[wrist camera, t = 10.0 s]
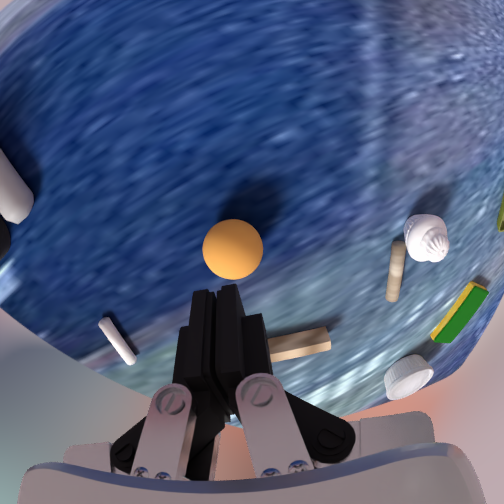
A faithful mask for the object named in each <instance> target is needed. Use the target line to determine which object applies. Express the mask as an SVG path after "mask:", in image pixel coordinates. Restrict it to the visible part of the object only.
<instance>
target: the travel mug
mask: <svg viewBox="0 0 504 504" xmlns="http://www.w3.org/2000/svg"><path fill="white" fill-rule="evenodd" d="M9 248H10V234H9V231H8V228H7V226H6V224H5V222H4V221H3V219H2V218H1V217H0V260H1V259H2V258H3V257H4V255H5V254H6V253H7V252H8V250H9Z"/></svg>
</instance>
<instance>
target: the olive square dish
mask: <svg viewBox="0 0 504 504" xmlns="http://www.w3.org/2000/svg"><path fill="white" fill-rule="evenodd" d="M497 227H498V231H499V232H504V194H503V198H502V203H501V207H500V211H499V215H498V219H497Z"/></svg>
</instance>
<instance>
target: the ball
mask: <svg viewBox="0 0 504 504" xmlns="http://www.w3.org/2000/svg"><path fill="white" fill-rule="evenodd" d="M262 254H263V244H262V240H261V237H260V235H259V234H258V232H257V231H256V229H255V228H254V227H253V226H251V225H250V224H248V223H247V222H244V221H242V220H237V219H229V220H224V221H221V222H219V223H217V224H216V225H214V226H213V227H212V228H211V229H210V230H209V232H208V233H207V235H206V237H205V239H204V243H203V255H204V259H205V262H206V264H207V265H208V267H209V268H210V269H211V270H212V271H213V272H214V273H215V274H216V275H218V276H220V277H223V278H226V279H240V278H243V277H246V276H248V275H249V274H251V273H252V272H253V271H254V270H255V269H256V268H257V266H258V265H259V263H260V261H261V258H262Z"/></svg>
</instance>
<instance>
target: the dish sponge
mask: <svg viewBox="0 0 504 504" xmlns="http://www.w3.org/2000/svg"><path fill="white" fill-rule="evenodd" d="M488 294H489V292H488V291H487V289H486V288H485V287H484V286H481V285H479V284H477V283H475V282H472V281H471V282H469V284H468V285H467V287H466V288H465V290H464V291H463V293H462V294H461V295H460V297H459V298H458V300H457V301H456V303H455V304H454V305H453V307H452V308H451V309H450V311H449V312H448V313H447V315H446V316H445V317H444V319H443V320H442V321H441V322H440V324H439V325H438V326H437V327H436V329H435V330H434V331H433V332H432V333H431V335H430V336H431V338H432V339H433V340H434V342H439V343H451V342H452V341H453V340H454V339H455V337H456V336H457V335H458V334H459V333H460V331H461V330H462V329H463V328H464V326H465V325H466V324H467V323H468V321H469V320H470V319H471V317H472V316H473V315H474V313H475V312H476V311H477V309H478V308H479V307H480V305H481V304H482V302H483V301H484V300H485V298H486V297H487V295H488Z"/></svg>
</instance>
